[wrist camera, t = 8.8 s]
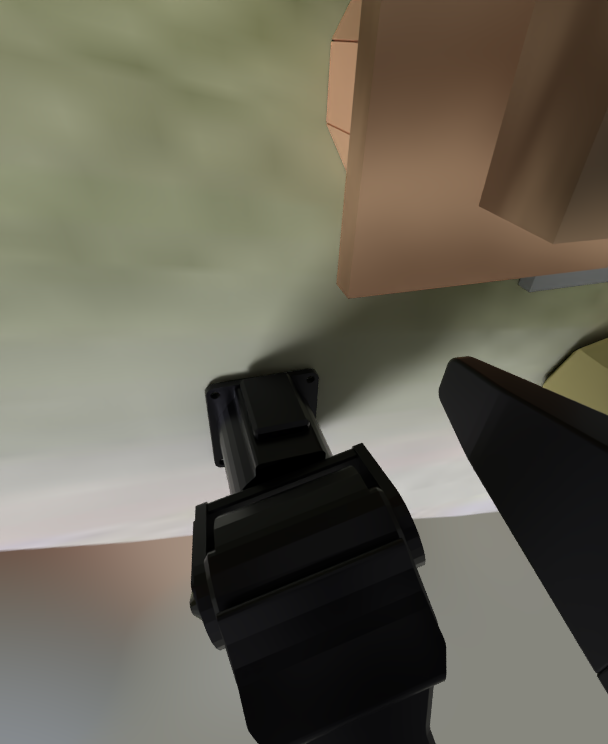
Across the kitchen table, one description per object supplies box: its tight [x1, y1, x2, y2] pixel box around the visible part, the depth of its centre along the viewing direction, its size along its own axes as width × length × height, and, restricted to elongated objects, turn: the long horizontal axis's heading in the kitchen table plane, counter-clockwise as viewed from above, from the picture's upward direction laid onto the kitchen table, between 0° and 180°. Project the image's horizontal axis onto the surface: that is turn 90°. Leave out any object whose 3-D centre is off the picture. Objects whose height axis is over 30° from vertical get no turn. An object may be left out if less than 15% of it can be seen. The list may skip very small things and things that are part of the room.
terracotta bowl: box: [326, 0, 362, 172], centre depth 16 cm, size 10×10×5 cm
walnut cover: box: [336, 0, 608, 299], centre depth 12 cm, size 12×12×5 cm
